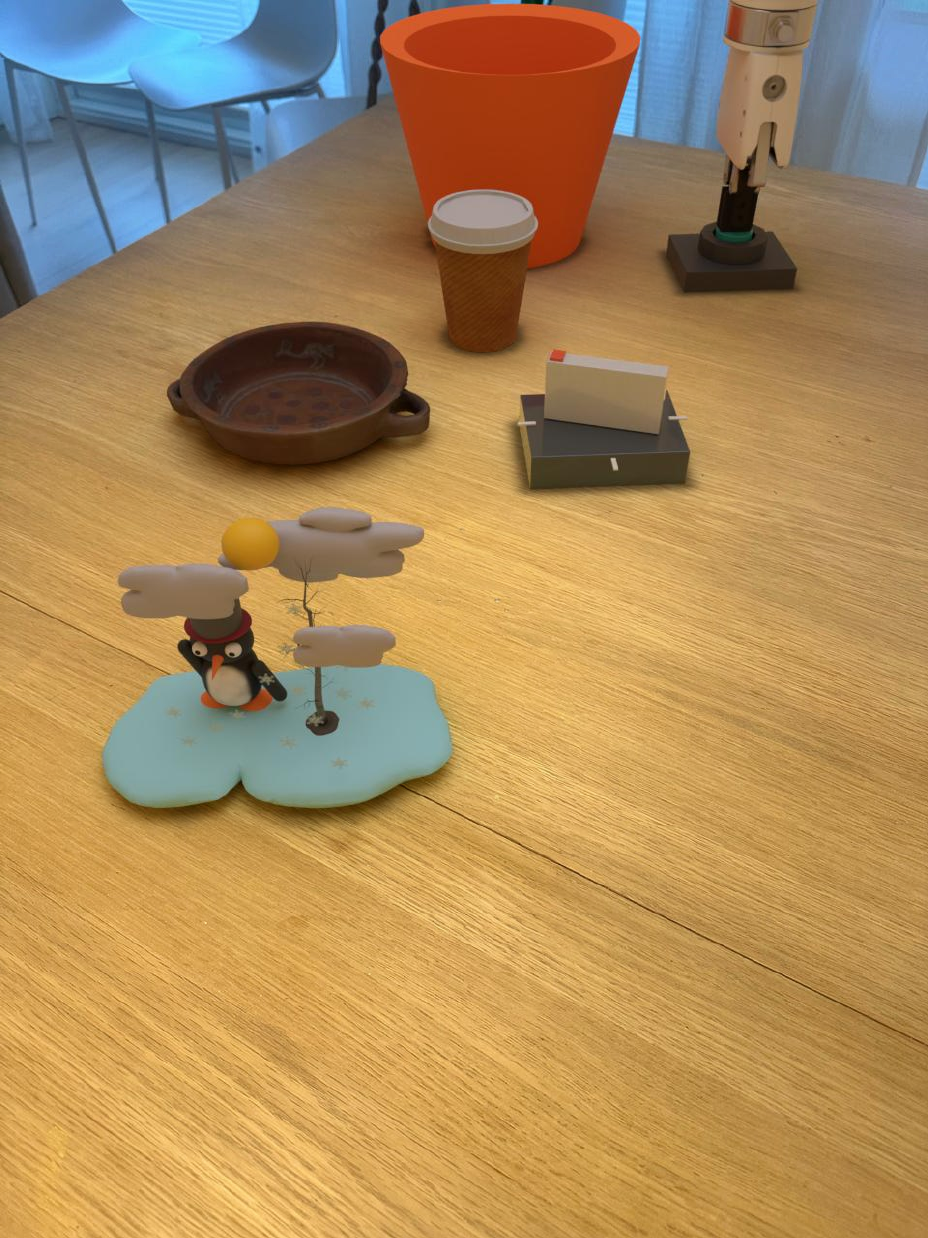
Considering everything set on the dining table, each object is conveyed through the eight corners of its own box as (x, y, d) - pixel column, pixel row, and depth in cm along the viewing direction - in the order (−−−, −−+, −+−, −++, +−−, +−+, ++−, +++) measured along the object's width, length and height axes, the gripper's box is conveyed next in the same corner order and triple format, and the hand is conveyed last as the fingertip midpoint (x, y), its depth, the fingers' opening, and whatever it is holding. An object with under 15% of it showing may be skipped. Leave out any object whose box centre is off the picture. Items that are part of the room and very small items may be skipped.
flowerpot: (536, 178, 127) (544, -8, 114) (669, 253, 111) (695, 46, 98) (351, 223, 118) (335, 25, 104) (467, 311, 102) (465, 92, 89)
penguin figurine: (90, 821, 58) (6, 620, 48) (135, 681, 66) (71, 482, 56) (452, 819, 58) (447, 617, 48) (454, 679, 66) (449, 480, 56)
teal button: (745, 238, 108) (748, 221, 106) (754, 253, 105) (757, 235, 104) (710, 239, 107) (712, 222, 106) (718, 254, 105) (721, 237, 104)
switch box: (768, 251, 111) (776, 213, 109) (792, 289, 105) (801, 250, 102) (666, 254, 111) (670, 216, 108) (683, 293, 105) (689, 254, 102)
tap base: (665, 407, 89) (669, 373, 87) (699, 500, 79) (705, 465, 77) (509, 412, 89) (510, 379, 86) (524, 506, 79) (526, 472, 77)
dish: (208, 363, 95) (198, 311, 92) (449, 379, 93) (448, 327, 89) (136, 473, 82) (122, 418, 79) (413, 496, 80) (410, 440, 77)
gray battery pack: (661, 423, 82) (669, 363, 78) (658, 434, 80) (667, 373, 77) (547, 407, 83) (551, 347, 80) (543, 418, 82) (546, 358, 79)
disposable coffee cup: (516, 368, 94) (520, 237, 86) (416, 352, 96) (411, 222, 88) (545, 320, 100) (551, 194, 92) (451, 306, 103) (448, 181, 95)
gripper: (837, 46, 87) (791, 260, 100) (787, 1, 98) (751, 199, 111) (747, 48, 87) (713, 262, 100) (707, 3, 98) (681, 201, 110)
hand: (733, 228), depth 105 cm, fingers closed
